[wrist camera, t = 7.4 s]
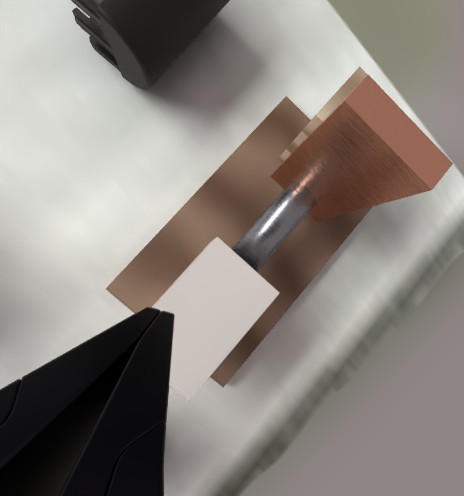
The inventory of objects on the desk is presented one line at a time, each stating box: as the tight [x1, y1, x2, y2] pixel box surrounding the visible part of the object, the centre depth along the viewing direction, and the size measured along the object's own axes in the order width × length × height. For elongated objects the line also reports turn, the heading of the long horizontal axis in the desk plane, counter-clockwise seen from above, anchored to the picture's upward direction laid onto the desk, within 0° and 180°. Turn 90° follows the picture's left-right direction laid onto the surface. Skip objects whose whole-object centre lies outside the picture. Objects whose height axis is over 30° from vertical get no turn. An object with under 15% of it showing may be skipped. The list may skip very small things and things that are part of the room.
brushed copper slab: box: [231, 75, 453, 272], centre depth 15 cm, size 13×5×10 cm, turn 138°
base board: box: [106, 96, 373, 387], centre depth 22 cm, size 22×12×1 cm, turn 138°
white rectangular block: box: [152, 237, 279, 401], centre depth 18 cm, size 8×5×6 cm, turn 138°
